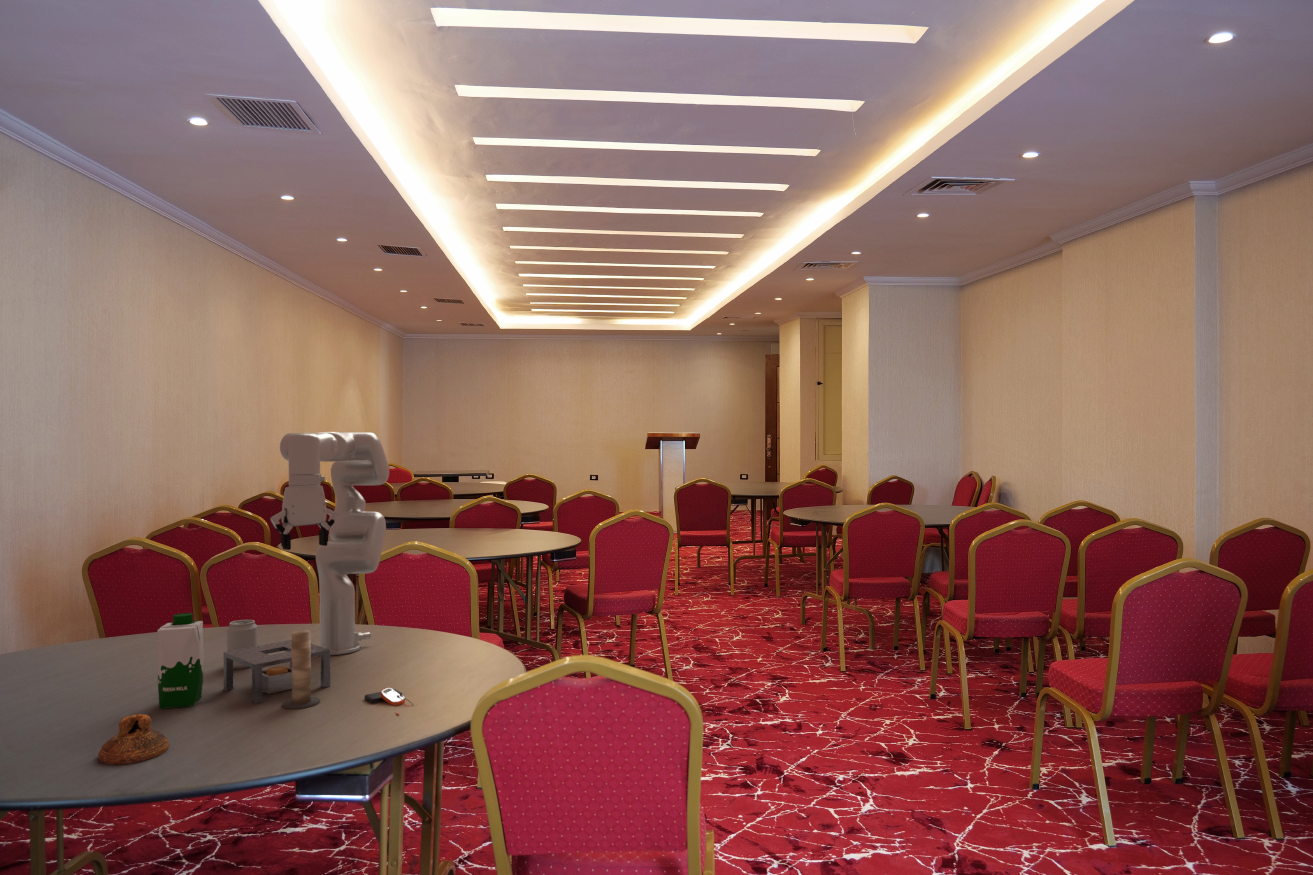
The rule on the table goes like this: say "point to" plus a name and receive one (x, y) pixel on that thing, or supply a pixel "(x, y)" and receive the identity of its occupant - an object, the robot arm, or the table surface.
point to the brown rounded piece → (133, 742)
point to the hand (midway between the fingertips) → (305, 547)
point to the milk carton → (180, 662)
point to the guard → (260, 658)
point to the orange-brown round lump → (276, 670)
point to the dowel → (301, 667)
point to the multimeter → (387, 697)
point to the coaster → (289, 704)
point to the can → (241, 637)
